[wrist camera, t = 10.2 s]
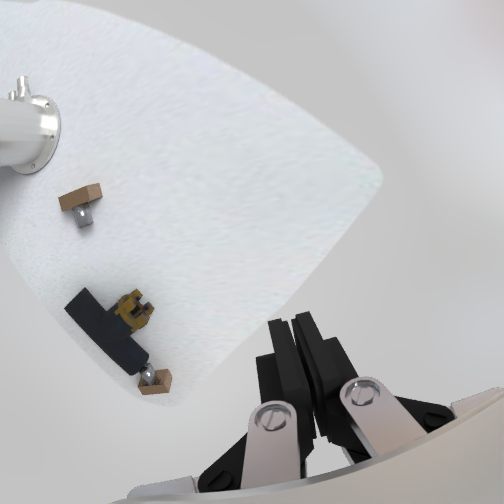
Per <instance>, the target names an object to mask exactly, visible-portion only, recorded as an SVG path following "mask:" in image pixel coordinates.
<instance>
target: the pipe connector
mask: <svg viewBox="0 0 504 504" xmlns="http://www.w3.org/2000/svg"><path fill="white" fill-rule="evenodd" d="M141 297H142V294H141V293H140V292H139V291H138V290H137V289H136V290H134V291H133V292H132V293H131V294H130V295H124V296H123V297H122V298H121V299H120V300H119V301H118V303H116V304H115V305H114V306H113V307H112V308H110V309H109V310H108V311H107V312H106V311H105V309H104V308H103V307H102V306H101V305H100V304H99V303H98V302H97V301H96V299H95V298H94V297H93V296H92V295H91V294H90V293H89V291H88V290H87V289H86V288H84V289H83V290H82V291H81V292H80V293H79V294H78V295H77V296H76V297H75V298H74V299H73V300H72V301H71V302H70V303H69V304H68V305H67V306H66V307H65V308H64V309H65V310H66V312H67V313H68V314H69V315H70V316H71V317H72V318H73V319H74V321H75V322H76V323H77V324H78V325H79V326H80V327H81V328H82V329H83V330H84V331H85V332H86V334H87V335H88V336H89V337H90V338H91V339H92V340H93V341H94V342H95V343H96V344H97V345H98V346H99V347H100V348H101V349H102V350H103V351H104V352H105V353H106V354H107V355H108V356H109V357H110V358H111V359H112V360H113V361H115V362H116V363H117V364H118V365H119V366H120V367H121V368H122V369H123V370H124V371H125V372H127V373H128V374H129V375H130V376H132V375H134V374H136V373H137V372H139V371H140V370H141V369H142V368H143V366H144V365H145V364H146V362H147V361H148V358H149V354H148V353H147V352H146V351H145V350H144V349H142V348H141V347H140V346H139V345H138V344H137V343H136V342H135V341H134V340H133V339H132V338H131V337H130V335H131V334H132V333H134V332H135V331H136V330H138V329H141V328H142V327H144V326H145V325H146V324H147V323H148V320H149V318H150V317H149V315H150V314H151V313H152V312H153V310H154V307H153V306H152V305H151V304H150V303H149V302H148V303H146V304H145V305H144V306H142V304H141V303H140V302H139V300H140V299H141Z"/></svg>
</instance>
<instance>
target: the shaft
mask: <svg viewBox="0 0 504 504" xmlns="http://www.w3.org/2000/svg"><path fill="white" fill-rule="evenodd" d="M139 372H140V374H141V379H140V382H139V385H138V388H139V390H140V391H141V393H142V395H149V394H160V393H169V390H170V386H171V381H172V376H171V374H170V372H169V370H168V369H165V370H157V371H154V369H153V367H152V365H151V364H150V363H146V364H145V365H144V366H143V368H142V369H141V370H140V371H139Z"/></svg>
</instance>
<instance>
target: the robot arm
mask: <svg viewBox="0 0 504 504" xmlns="http://www.w3.org/2000/svg"><path fill="white" fill-rule="evenodd" d="M17 88H18V96H17V98H16V91H11V92H10V93H9V99H5V98H0V167H3V166H10V167H11V168H12V169H13V170H14V171H16V172H18V173H21V174H29V173H34V172H36V171H38V170H39V169H41V168H42V167H43V166H44V165H45V164H46V163H47V162H48V161H49V159H50V158H51V156H52V155H53V153H54V151H55V149H56V146H57V143H58V140H59V135H60V115H59V111H58V109H57V107H56V105H55V103H54V102H53V101H52V100H51V99H49V98H48V97H45V96H41V95H33V96H30V92H28V77H27V76H22V77H20V78H19V79H18V80H17ZM16 100H17V101H16ZM291 322H292V327H293V332H294V338H295V342H294V339H293V336H292V333H291V330H290V327H289V324H288V322H287V321H283V322H282V320H281V318H280V319H276V320H272V321H268V325H269V330H270V334H271V339H272V343H273V348H274V352H275V353H272V354H267V355H263V356H258V357H256V365H257V373H258V379H259V380H258V381H259V389H260V396H261V405H260V406H258V407H257V408H256V409H255V410H254V411H253V412H252V413H251V416H250V419H249V426H248V432H247V433H246V434H245V435H244V436H243V437H242V438H241V439H240V440H239V441H238V442H237V443H236V444H235V445H233V447H231V448H230V449H229V450H228V451H227V452H226V453H225V454H224V455H222V456H221V457H220V458H219V459H218V460H217V461H216V462H214V463H213V464H212V465H211V466H210V467H209V468H208V469H206V470H205V471H204V472H203V473H202V474H201V475H200V476H199V477H195V478H192V476H188V477H184V478H179V479H174V480H170V481H164V482H159V483H153V484H147V485H141V486H137V487H135V488H134V489H132V490H131V491H130V492H129V494H128V495H127V499H122V500H119V501H115V502H112V503H109V504H504V388H499V387H497V388H492V389H490V390H487V391H484V392H482V393H479V394H476V395H474V396H471V397H468V398H465V399H462V400H459V401H456V402H453V403H451V406H449V407H446V406H442V405H439V404H433V403H428V402H422V401H417V400H412V399H407V398H402V397H397V396H393V395H392V394H391V393H390V391H389V390H388V389H387V388H386V387H385V386H384V385H383V384H382V383H381V382H380V381H378V380H377V379H375V378H372V377H359V376H358V375H357V373H356V371H355V369H354V367H353V365H352V364H351V362H350V360H349V358H348V356H347V355H346V353H345V351H344V349H343V348H342V346H341V344H340V342H339V341H338V339H337V337H333V338H330V339H326V340H323V339H322V336H321V334H320V332H319V330H318V328H317V326H316V324H315V322H314V320H313V318H312V316H311V314H310V312H309V311H308V312H304V313H300V314H296V318H295V319H291ZM295 343H296V345H295ZM313 413H314V415H313ZM314 416H315V419H316V422H317V425H318V428H319V432H320V435H321V437H323V436H327V439H328V442H329V443H330V442H332V443H333V444H335V445H338V446H341V447H342V451H343V453H344V454H345V456H346V458H347V459H348V461H349V463H350V464H351V466H348V467H345V468H342V469H339V470H335V471H332V472H328V473H324V474H321V475H317V476H313V477H309V478H307V462H306V458H307V456H308V455H309V454H310V453H311V452H312V450H313V449H314V445H313V439H316V438H317V436H316V429H315V422H314Z"/></svg>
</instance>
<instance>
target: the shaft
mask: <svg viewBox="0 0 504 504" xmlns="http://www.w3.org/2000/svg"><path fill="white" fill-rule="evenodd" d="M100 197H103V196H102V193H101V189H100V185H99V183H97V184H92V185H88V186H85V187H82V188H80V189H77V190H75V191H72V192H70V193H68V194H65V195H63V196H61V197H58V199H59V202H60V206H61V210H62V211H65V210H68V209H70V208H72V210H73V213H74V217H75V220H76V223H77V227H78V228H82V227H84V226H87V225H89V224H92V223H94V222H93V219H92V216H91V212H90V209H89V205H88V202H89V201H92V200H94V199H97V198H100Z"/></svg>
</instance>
